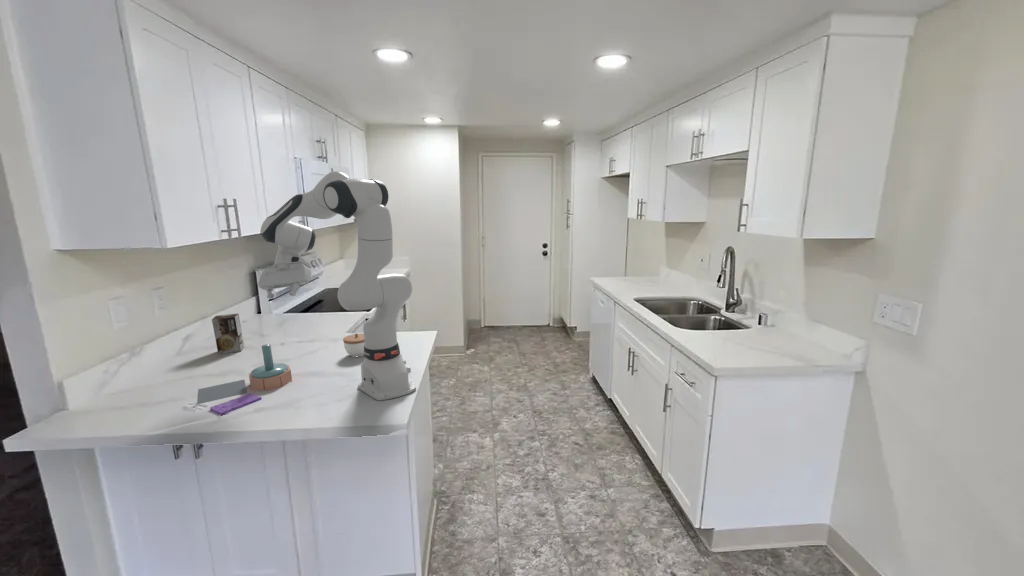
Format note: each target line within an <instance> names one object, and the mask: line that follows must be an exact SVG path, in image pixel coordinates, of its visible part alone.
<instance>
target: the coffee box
mask: <svg viewBox="0 0 1024 576" xmlns="http://www.w3.org/2000/svg"><path fill="white" fill-rule="evenodd" d="M211 323H212V328H213V334H214V337H215V343H216V345H215V346H216V351H217V354H218V355H221V354H222V353H223V354H229V353H230V354H231V353H237V352H241V351H242V350H243V349H244V348H245V343H244V337H243V333H242V327H241V321H240V315H239V313H231V314H230V313H229V314H220V315H215V316H214V317H213V318H212V319H211ZM223 354H222V355H223Z"/></svg>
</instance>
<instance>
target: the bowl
mask: <svg viewBox="0 0 1024 576" xmlns="http://www.w3.org/2000/svg"><path fill="white" fill-rule="evenodd" d="M286 365H287V366H288V370H287V371H286V372H284V373H282V374H280V375H277V376H273V377H269V378H254V377H252V375H251V372H250V373H248V378H249V384H250V389H251V390H254V391H255V390H256V391H269V390H272V389H276V388H281V387H283V386H285V385H286V384H288V383H292V382H293V377H292V371H291V368H290V366H289V365H288V364H286Z"/></svg>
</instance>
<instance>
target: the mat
mask: <svg viewBox="0 0 1024 576" xmlns="http://www.w3.org/2000/svg"><path fill="white" fill-rule="evenodd" d="M247 392H248V391H247V387H246V381H245V379H240V380H235V381H231V382H226V383H222V384H215V385H212V386H207V387H201V388H198V391H197V401H196V402H197V405H201V404H204V403H209V402H213V401H218V400H222V399H226V398H230V397H235V396H239V395H243V394H244V395H245V394H248V393H247Z"/></svg>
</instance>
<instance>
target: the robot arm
mask: <svg viewBox="0 0 1024 576" xmlns="http://www.w3.org/2000/svg"><path fill="white" fill-rule="evenodd" d="M388 202H389V191H388V189H387V186H386V185H385V184H384V182H382V181H380V180H377V179H373V178H372V179H369V178H368V179H362V178H359V179H358V178H350V177H349V176H348V175H347V174H346V173H344V172H341V171H337V170H335V171H330V172H329V173H327V174H326V175H325V176H324V177H322V178H321V179H320V180H319V181H318V182H317V184H316V185H315V186H314V187H313V189H312V190H310V191H307V192H305V193H299V194H298V193H297V194H296V195H294V196H292V197H291V198H290V199H289V200H288V201H286V202H285V203H284V204H283V205H281V207H279V208H278V209H277V210H276V211H275V212H274V213H273V214H271V215H269V216H267V217H266V218H265V219H264V221H263V222H262V224H261V227H260V235H261V236H262V238H263V239H264V241H265V242H267V243H272V244H277V248H278V250H277V252H276V254H275V259H274V263H273V266H272V265H271V266H266V268H265V269H263V270H262V272H261V274H260V276H259V279H258V282H257V285H258V288H260V289H262V290H265V291H266V293H267V296H266V298H267V299H269V300H272V299H274V297H275V294H274V293H273V291H274V289H275V290H276V289H281V288H289V287H292V289H290V290H289V296H292V297H294V296H296V295H297V292H298V291H299V289H300V288H301V286H302V285H309V283H310V282H311V279H312V270H311V269H312V264H311V262H309V261H308V260H307V259H305V258H303V257H302V254H304V253H305V254H306V253H307V252H309V251H311V250H313V249H314V246H315V242H316V237H317V235H316V233H315V231H314V229H312V228H311V227H309V226H306V225H303V224H300V223H296V222H294V221H291V220H292V219H293V218H296V217H308V218H313V219H318V220H328V219H331V218H334V217H335V216H337V215H341V216H342V217H344V218H345V219H350V218H352V217H353V218H354V219H355V220H356V223H357V257H356V262H355V265H354V268H353V270H352V272H351V273H350V275H349V276H348V277H347V278H346V279H345V280H344V281H343V282H342V283H341V284H340V285H339V287H338V290H337V300H338V303H339V305H340V306H341V307H342V308H343V309H344V310H346V311H364V310H365V311H366V310H371V309H376V310H375V312H374V313H373V315H371V316H370V317H369V318H368V319H367V320H366V321H365V322H364V324H363V327H362V331H363V334H364V342H365V346H364V356H363V357H364V360H363V362H361V363H360V369H361V371H360V372H361V382H360V383H358V384H357V389H358V390H360V391H362V392H363V393H365V394H367V395H368V396H370V397H371V398H373V399H374V400H376V401H385V400H390V399H392V400H393V399H396V398H398V397H403V396H405V395H408V394H409V395H410V394H411V393H413V392H415V391H416V390H417V386H416V384H415V382H414V380H413V377H412V376H411V373H412V371H411V366H406V364H407V361H406V360H404V359H403V355H402V354H401V351H400V345H399V342H398V337H397V321H398V317H399V314H400V311H401V309H402V308H403V305H404V304H405V303H406V302H407V301H408V300H409V299H410V298H411V295H412V292H413V285H412V281H411V280H410V278H409V277H408V276H407V275H405V274H403V273H385V274H381V275H380V272H381V271H382V270H383V269H384V268H385V267H386V266H388V265H389V264H390V263H391V262H392V260H393V258H394V257H393V256H394V255H393V254H394V253H393V250H394V249H393V248H394V247H393V242H394V241H393V225H392V224H393V223H392V218H391V214H390V210H389V209H388V207H387V204H388Z"/></svg>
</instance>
